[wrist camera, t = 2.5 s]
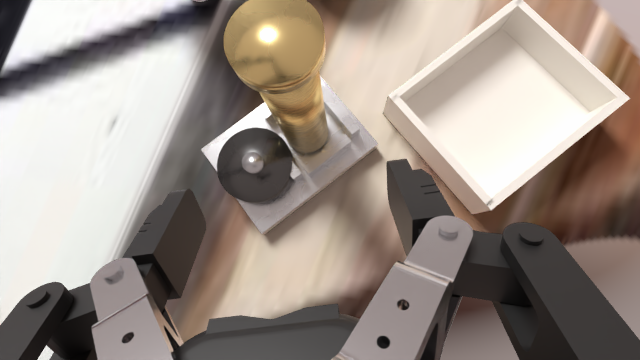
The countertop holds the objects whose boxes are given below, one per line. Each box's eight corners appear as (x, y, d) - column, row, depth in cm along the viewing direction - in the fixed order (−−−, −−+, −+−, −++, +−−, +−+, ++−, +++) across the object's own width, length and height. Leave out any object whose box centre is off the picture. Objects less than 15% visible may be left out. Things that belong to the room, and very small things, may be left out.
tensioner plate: (265, 234, 27) (253, 233, 24) (207, 153, 29) (189, 141, 26) (376, 147, 28) (381, 135, 25) (313, 73, 30) (309, 52, 26)
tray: (472, 214, 26) (491, 210, 23) (382, 113, 28) (388, 95, 25) (593, 116, 27) (630, 98, 24) (497, 25, 29) (518, -4, 26)
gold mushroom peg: (301, 169, 27) (261, 104, 14) (269, 128, 28) (204, 31, 15) (345, 136, 27) (345, 42, 14) (312, 96, 28) (284, -26, 15)
